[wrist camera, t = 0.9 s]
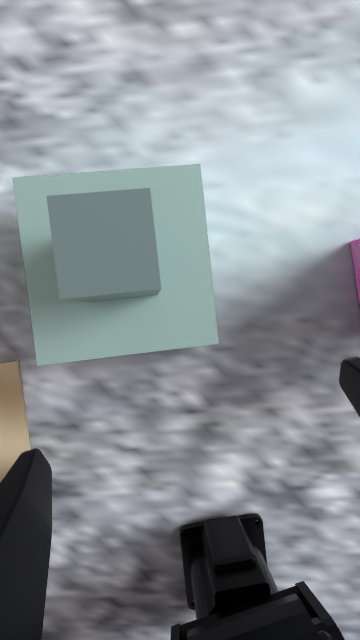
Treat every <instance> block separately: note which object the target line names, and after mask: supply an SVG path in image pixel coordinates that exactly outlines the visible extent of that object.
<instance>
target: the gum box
mask: <svg viewBox="0 0 360 640" xmlns="http://www.w3.org/2000/svg"><path fill="white" fill-rule="evenodd" d="M350 245H351V251H352V258H353V264H354V270H355V279H356V287H357V293H358V299H359V304H360V239H358V240H354V241H351V242H350Z"/></svg>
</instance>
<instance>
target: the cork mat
mask: <svg viewBox="0 0 360 640" xmlns="http://www.w3.org/2000/svg"><path fill="white" fill-rule="evenodd" d="M28 450H31V447H30V440H29V433H28V425H27V418H26V410H25V403H24V396H23V388H22V381H21V373H20V366H19V361H11V362H3V363H0V482H1V481H2V479H3V478H4V476H5V475H6V474H7V472H8V471H9V469H10V468H11V467H12V465H13V464H14V463H15V461H16V460H17V458H18V457H19V456H20V454H21V453H23V452H25V451H28Z"/></svg>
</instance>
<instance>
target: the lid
mask: <svg viewBox="0 0 360 640" xmlns="http://www.w3.org/2000/svg"><path fill="white" fill-rule="evenodd" d="M12 179H13V187H14V194H15V202H16V209H17V217H18V225H19V232H20V240H21V247H22V255H23V262H24V270H25V278H26V285H27V293H28V300H29V308H30V315H31V323H32V330H33V338H34V346H35V353H36V361H37V366H40V365H49V364H57V363H65V362H73V361H81V360H89V359H98V358H106V357H114V356H122V355H130V354H139V353H147V352H155V351H163V350H171V349H180V348H188V347H196V346H204V345H212V344H219V339H218V330H217V320H216V310H215V301H214V291H213V282H212V272H211V263H210V253H209V244H208V234H207V225H206V215H205V205H204V196H203V186H202V177H201V167H200V164H194V165H180V166H166V167H152V168H139V169H125V170H111V171H97V172H84V173H70V174H56V175H43V176H29V177H15V178H12Z"/></svg>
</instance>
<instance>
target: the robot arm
mask: <svg viewBox="0 0 360 640" xmlns="http://www.w3.org/2000/svg"><path fill="white" fill-rule="evenodd" d="M339 383H340V386H341V388H342V390H343V391H344V393H345V394H346V396H347V398H348V399H349V401H350V402H351V404H352V405H353V407H354V409H355V410H356V412H357V413H358V415H359V417H360V358H359V357H351V358H348V359H344V360H343V361H342V362H341V368H340V376H339ZM254 520H258V521H257V522H256V523H253V522H254ZM185 532H189V533H188V534H187V535H185V534H184V533H185ZM51 537H52V471H51V467H50V464H49V463H48V461H47V460H46V458H45V457H44V455H43V454H42V452H41V451H40V450H39V449H37V448H35V449H31V450H28V451H25V452H23V453H21V454H20V456H19V457H18V458H17V460H16V461H15V463H14V464H13V465H12V467H11V468H10V469H9V471H8V472H7V474H6V475H5V476H4V478H3V479H2V481H1V482H0V640H41V638H42V628H43V618H44V608H45V598H46V588H47V578H48V568H49V558H50V548H51ZM180 540H181V548H182V557H183V566H184V575H185V584H186V592H187V601H188V606H189V608H190V609H192V610H195V612H196V619H197V620H194V621H192V622H189V623H186V624H183V625H180V623H179V624H176V625H173V626H171V640H345V639H344V638H343V636H342V634H341V632H340V630H339V628H338V627H337V625H336V623H335V622H334V620H333V619H332V618H331V616H330V615H329V614H328V612H327V611H326V610H325V608H324V607H323V606H322V605H321V603H320V602H319V601H318V599H317V598H316V597H315V595H314V594H313V593H312V592H311V590H310V589H309V588H308V586H307V585H306V584H305V582H304V581H302V582H299V583H296V584H295V585H296V586H294V587H291V588H288V589H285V590H282V591H278V589H277V586H276V584H275V582H274V580H273V578H272V575H271V573H270V571H269V569H268V566H267V560H266V550H265V540H264V530H263V521H262V519H261V517H260V515H259V514H255V513H254V514H248V515H242V516H232V517H227V518H221V519H215V520H209V521H206V522H201V523H195V524H189V525H184V526H182V527H181V529H180ZM193 600H194V602H192V601H193Z"/></svg>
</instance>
